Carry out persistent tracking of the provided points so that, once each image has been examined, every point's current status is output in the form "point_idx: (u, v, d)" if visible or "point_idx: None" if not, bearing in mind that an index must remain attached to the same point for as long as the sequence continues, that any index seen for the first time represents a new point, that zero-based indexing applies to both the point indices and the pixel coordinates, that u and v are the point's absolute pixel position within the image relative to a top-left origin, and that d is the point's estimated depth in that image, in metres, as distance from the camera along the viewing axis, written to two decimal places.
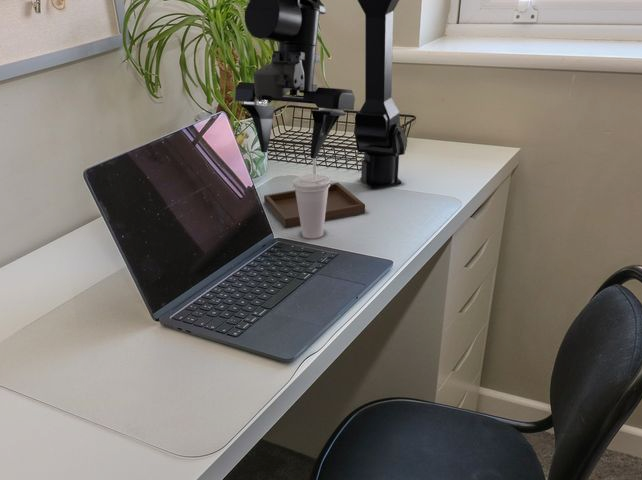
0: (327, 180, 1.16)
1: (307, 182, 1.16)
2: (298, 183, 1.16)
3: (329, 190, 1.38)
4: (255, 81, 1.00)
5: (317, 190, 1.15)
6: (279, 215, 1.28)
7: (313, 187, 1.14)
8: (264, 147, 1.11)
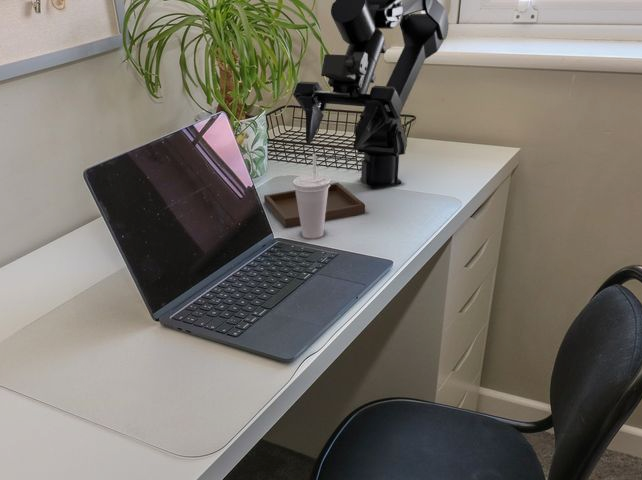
0: (327, 180, 1.16)
1: (307, 182, 1.16)
2: (298, 183, 1.16)
3: (329, 190, 1.38)
4: (325, 61, 1.13)
5: (317, 190, 1.15)
6: (279, 215, 1.28)
7: (313, 187, 1.14)
8: (309, 137, 1.21)
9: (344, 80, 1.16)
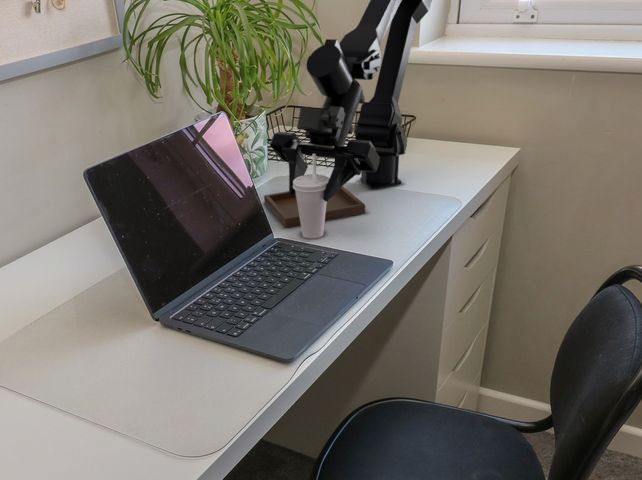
0: (327, 180, 1.16)
1: (307, 182, 1.16)
2: (298, 183, 1.16)
3: None
4: (300, 114, 1.11)
5: (317, 190, 1.15)
6: (279, 215, 1.28)
7: (313, 187, 1.14)
8: (292, 190, 1.18)
9: (321, 133, 1.15)
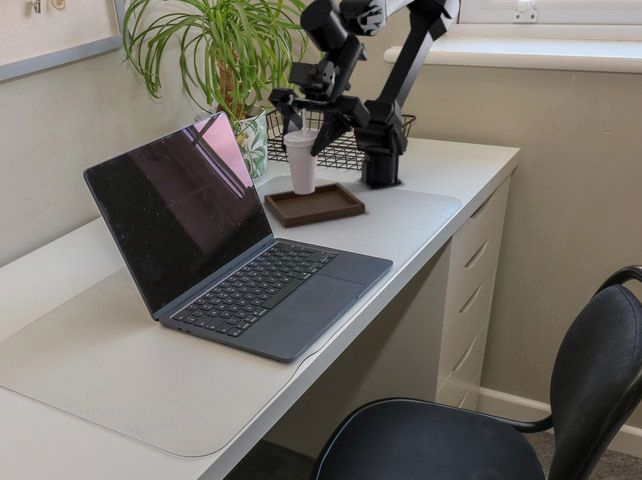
0: None
1: (296, 137, 1.18)
2: (288, 138, 1.18)
3: (329, 190, 1.38)
4: (291, 68, 1.13)
5: (305, 145, 1.16)
6: (279, 215, 1.28)
7: (300, 142, 1.16)
8: (284, 144, 1.20)
9: (313, 88, 1.16)
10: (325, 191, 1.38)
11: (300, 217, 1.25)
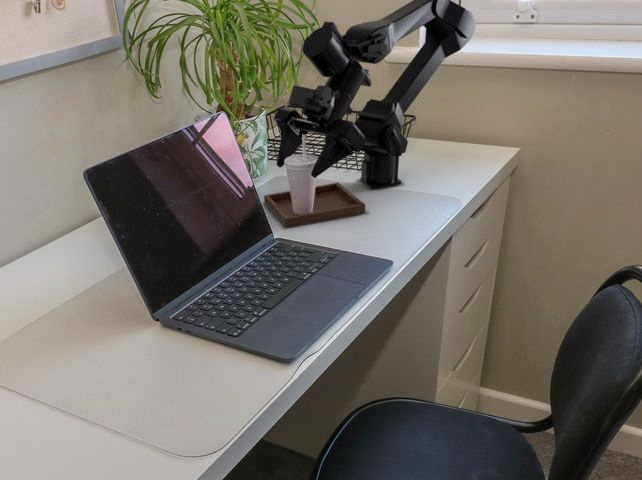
0: (315, 160, 1.23)
1: (296, 160, 1.24)
2: (288, 161, 1.24)
3: (329, 190, 1.38)
4: (292, 91, 1.19)
5: (302, 169, 1.23)
6: (279, 215, 1.28)
7: (297, 165, 1.22)
8: (279, 161, 1.27)
9: (313, 110, 1.21)
10: (325, 191, 1.38)
11: (300, 217, 1.25)
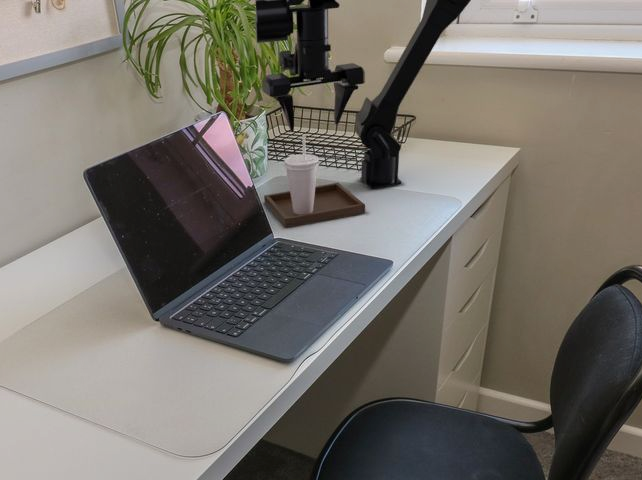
0: (315, 160, 1.23)
1: (296, 160, 1.24)
2: (288, 161, 1.24)
3: (329, 190, 1.38)
4: None
5: (302, 169, 1.23)
6: (279, 215, 1.28)
7: (297, 165, 1.22)
8: (334, 119, 1.35)
9: None
10: (325, 191, 1.38)
11: (300, 217, 1.25)
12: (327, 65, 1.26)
